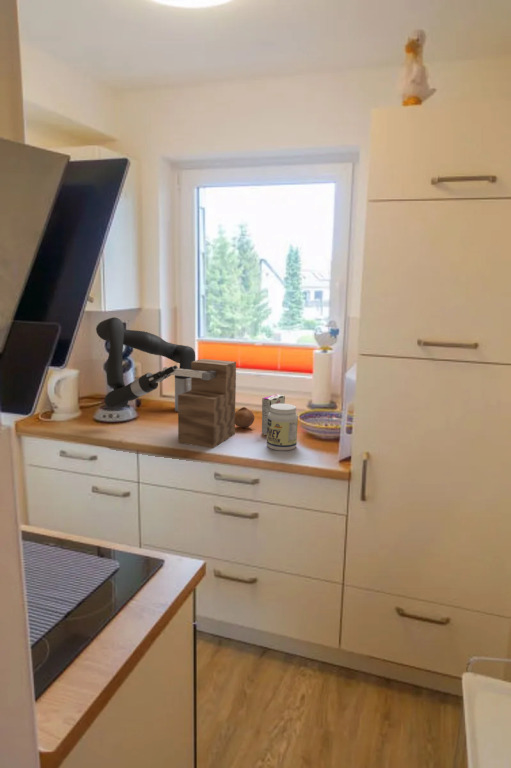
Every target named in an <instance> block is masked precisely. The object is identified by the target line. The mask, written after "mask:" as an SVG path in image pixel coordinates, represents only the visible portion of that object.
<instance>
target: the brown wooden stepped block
mask: <svg viewBox="0 0 511 768" xmlns="http://www.w3.org/2000/svg"><path fill="white" fill-rule="evenodd" d="M191 370H198V371H217V377H216V378H213V379H210V380H202V378H195V377H191V390H190V391H188V392H185V393H182V394H180V395H178V412H177V421H178V422H177V423H178V426H177V427H178V428H177V429H178V430H177V432H178V436H177V437H178V438H177V439H178V440H177V441H178V442H179V443H178V444H184V443H186V444H185V445H190V444H192V446H196V445H197V447H203V448H210V449H214V448H216V447H218V446H219V445H220V444H223V443H224V442H225V441H226V440H228V439H229V438H232V437H233V436H234V435H235V434H236V425H235V412H236V393H237V391H236V386H237V385H236V384H237V383H236V382H237V361H233V360H232V361H230V360H219V359H209V358H201V359H198V360H197V359H196V360H195V361H193V362H191Z"/></svg>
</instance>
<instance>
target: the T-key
mask: <svg viewBox="0 0 511 768" xmlns="http://www.w3.org/2000/svg"><path fill="white" fill-rule="evenodd" d="M169 367H170V366H169ZM169 367H168V366H166V367H165V366H164V367H162V371H163V370H166V369H167V368H169ZM179 368H180V367H179ZM179 368H174V372H172V373H170V374H168V375H171V376H175V375H177V376H186V377H195V378H202V380H210V379H213V378H216V377H217V371H198V370H189V369H179Z"/></svg>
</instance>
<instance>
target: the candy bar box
mask: <svg viewBox="0 0 511 768" xmlns="http://www.w3.org/2000/svg"><path fill="white" fill-rule="evenodd" d="M285 397H286V395H284V394H280V393H276V394H275V393H274V394H273V395H269V396H266V397H263V398H261V399H262V401H261V434H262V435H264V436H267V424H268V414H269V412H270V406H271V405H273V404H286V403H285V402H286V401H285V399H286V398H285Z"/></svg>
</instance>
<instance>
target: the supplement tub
mask: <svg viewBox="0 0 511 768" xmlns="http://www.w3.org/2000/svg"><path fill="white" fill-rule="evenodd" d="M298 416H299V415H298V413H297V406H296V405H294V404H291V403H285V404H273V405H271V406H270V412H269V414H268V424H267V435H266V445H267V447H268V448H269V449H272V450H274V451H275V450H276V451H285V452H286V451H292V450H294V449H295V448H296V447H297V443H298V441H297V440H298V420H299V417H298Z"/></svg>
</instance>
